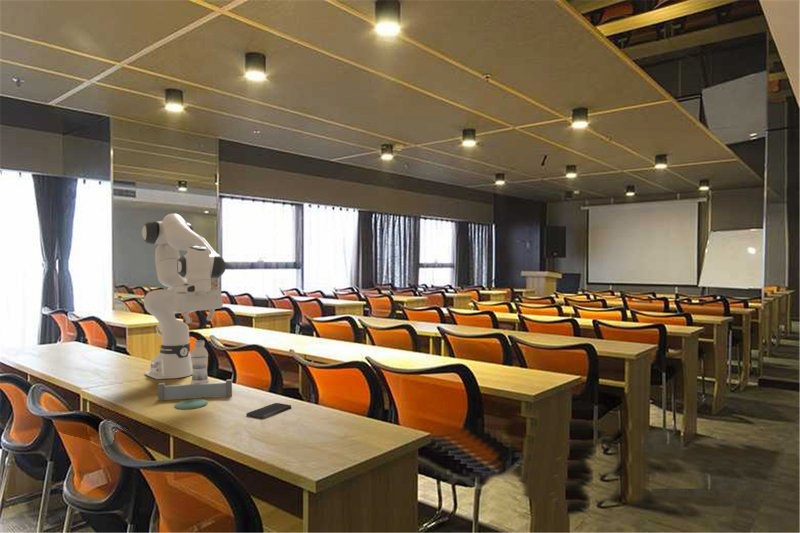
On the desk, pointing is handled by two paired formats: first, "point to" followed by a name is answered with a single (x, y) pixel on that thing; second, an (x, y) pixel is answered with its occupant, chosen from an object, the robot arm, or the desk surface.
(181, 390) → the low wall
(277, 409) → the phone
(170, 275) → the robot arm
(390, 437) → the desk surface
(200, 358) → the plastic bottle
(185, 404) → the mat
